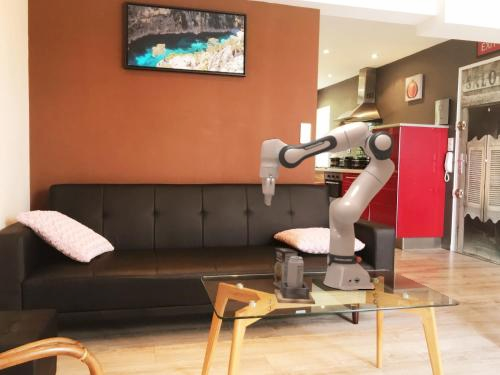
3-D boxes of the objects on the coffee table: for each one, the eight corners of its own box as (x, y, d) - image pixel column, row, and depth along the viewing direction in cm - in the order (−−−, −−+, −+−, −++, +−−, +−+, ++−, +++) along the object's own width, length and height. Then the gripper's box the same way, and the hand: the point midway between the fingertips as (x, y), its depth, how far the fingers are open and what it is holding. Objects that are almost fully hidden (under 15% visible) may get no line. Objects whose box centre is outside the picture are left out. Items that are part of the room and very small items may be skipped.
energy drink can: (291, 292, 174) (294, 255, 173) (304, 295, 170) (306, 257, 170) (283, 294, 169) (285, 257, 169) (296, 298, 165) (298, 259, 165)
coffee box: (272, 284, 188) (274, 247, 188) (285, 283, 191) (287, 247, 190) (282, 290, 180) (284, 251, 180) (295, 289, 183) (297, 251, 182)
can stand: (308, 293, 177) (309, 281, 177) (315, 303, 163) (315, 290, 163) (274, 292, 176) (275, 279, 176) (278, 302, 162) (278, 289, 162)
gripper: (278, 174, 185) (276, 206, 186) (273, 174, 206) (272, 203, 206) (264, 173, 185) (262, 205, 185) (260, 173, 205) (259, 202, 206)
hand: (267, 204), depth 196 cm, fingers open, 8 cm apart
